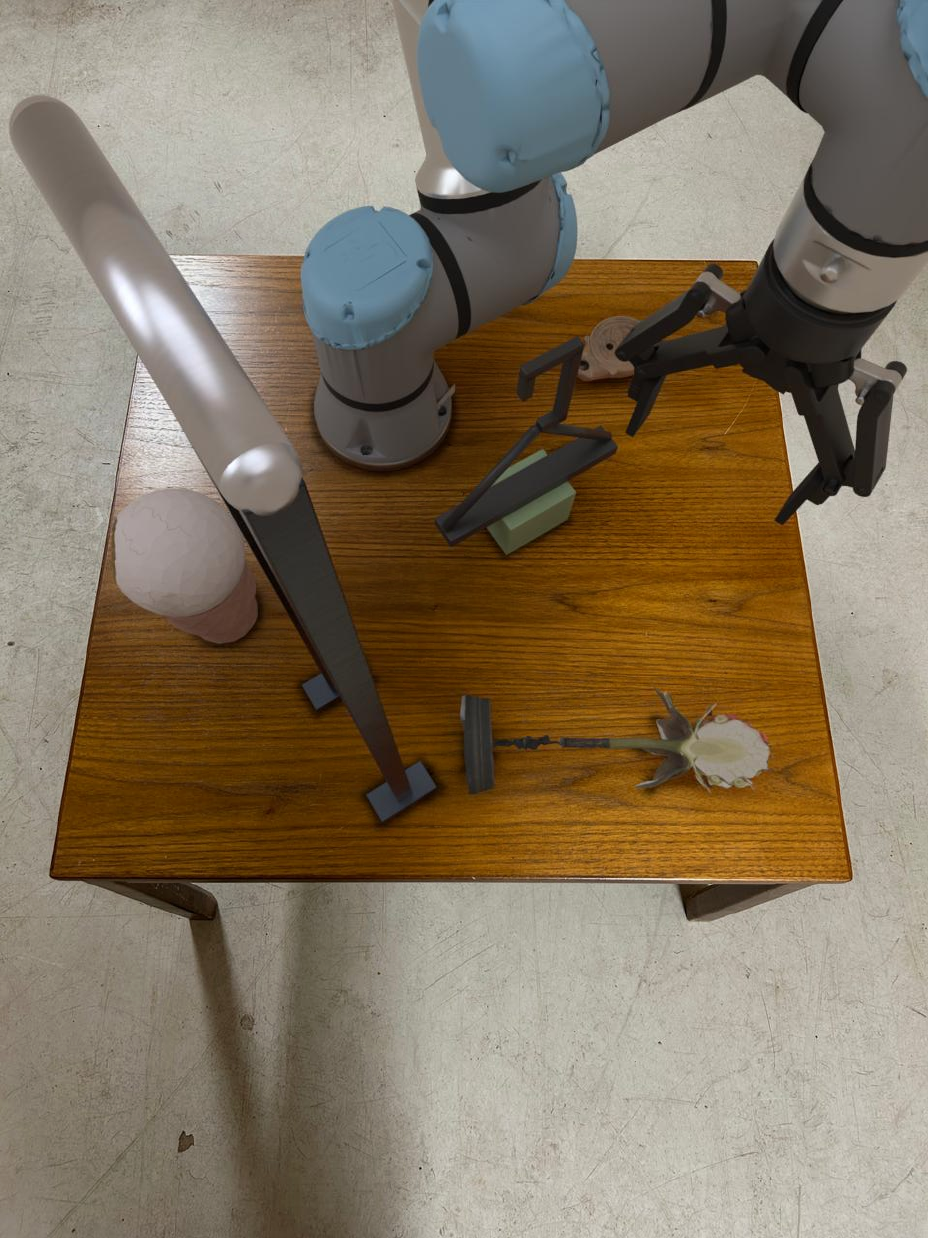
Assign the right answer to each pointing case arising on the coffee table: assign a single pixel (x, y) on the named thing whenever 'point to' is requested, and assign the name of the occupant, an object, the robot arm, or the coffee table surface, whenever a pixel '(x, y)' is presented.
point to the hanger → (541, 475)
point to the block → (532, 512)
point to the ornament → (636, 746)
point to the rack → (214, 418)
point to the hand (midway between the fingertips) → (710, 466)
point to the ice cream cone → (185, 563)
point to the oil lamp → (606, 350)
